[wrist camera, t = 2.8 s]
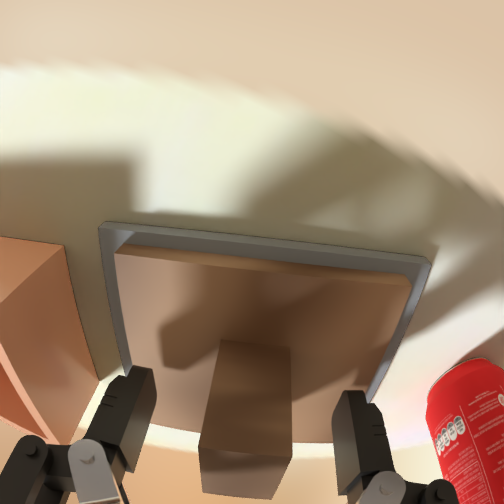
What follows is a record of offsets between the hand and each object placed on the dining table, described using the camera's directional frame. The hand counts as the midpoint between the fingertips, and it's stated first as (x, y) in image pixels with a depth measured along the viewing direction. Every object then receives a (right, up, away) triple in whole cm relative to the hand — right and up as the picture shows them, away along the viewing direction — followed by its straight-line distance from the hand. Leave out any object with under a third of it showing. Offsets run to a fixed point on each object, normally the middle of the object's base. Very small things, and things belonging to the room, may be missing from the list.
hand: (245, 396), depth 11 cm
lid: (0, +1, +2) cm, 2 cm away
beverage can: (+12, -2, +3) cm, 13 cm away
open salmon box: (-12, +2, +2) cm, 13 cm away
